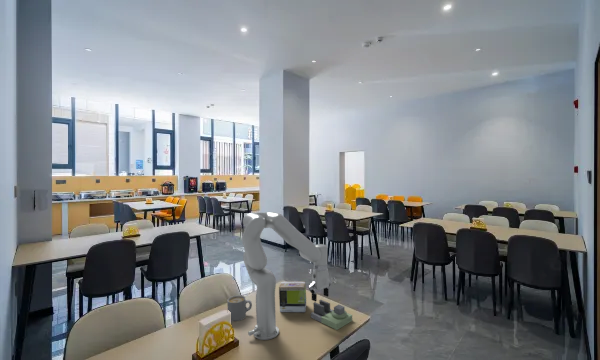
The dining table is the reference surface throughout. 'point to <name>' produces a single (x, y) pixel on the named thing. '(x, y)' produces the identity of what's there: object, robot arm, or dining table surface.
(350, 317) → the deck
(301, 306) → the tea box
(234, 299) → the coffee mug
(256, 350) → the dining table surface
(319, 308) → the chute
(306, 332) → the dining table surface
